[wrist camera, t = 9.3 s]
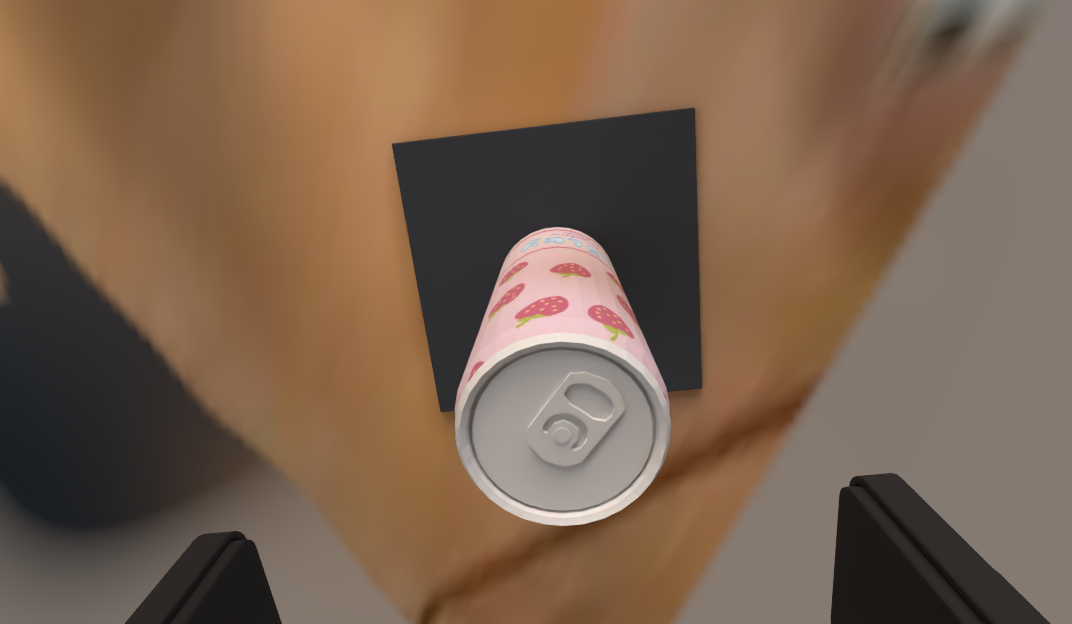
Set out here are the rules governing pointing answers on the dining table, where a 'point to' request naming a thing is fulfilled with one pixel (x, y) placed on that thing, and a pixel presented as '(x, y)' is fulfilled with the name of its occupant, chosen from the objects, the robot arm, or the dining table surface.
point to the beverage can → (561, 388)
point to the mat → (557, 225)
